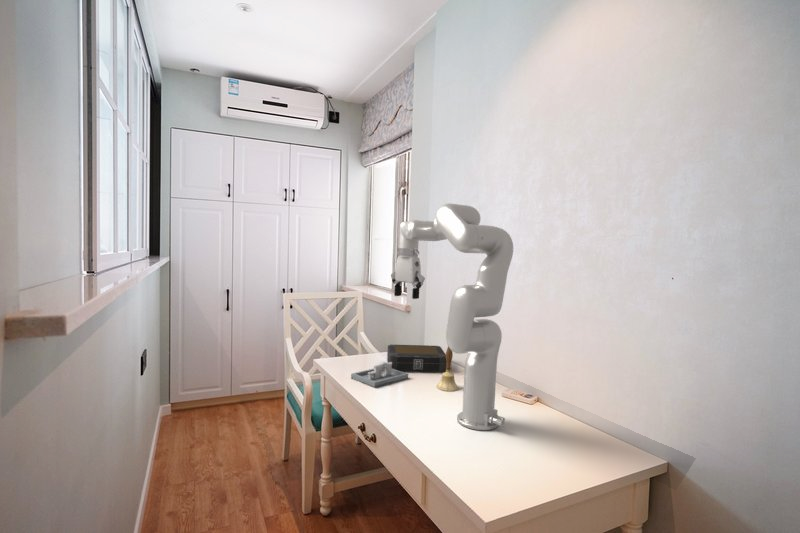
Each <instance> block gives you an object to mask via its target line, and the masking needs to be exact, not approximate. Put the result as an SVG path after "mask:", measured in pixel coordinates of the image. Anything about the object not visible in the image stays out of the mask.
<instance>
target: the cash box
mask: <svg viewBox="0 0 800 533" xmlns="http://www.w3.org/2000/svg"><path fill="white" fill-rule="evenodd" d="M386 351H387V355H386V356H387V357H386V361H387V362H386V363H389V362H392V369H395V370H398V371H401V372H404V373H414V374H415V373H419V374H420V373H421V374H422V373H423V374H427V373H428V374H443V373H444V372H446V367H447V361H446V352H445V351H444V350H443V348H442V347H441V346H440V345H424V344H423V345H422V344H421V345H420V344H418V345H417V344H389V345H387V350H386Z"/></svg>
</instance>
